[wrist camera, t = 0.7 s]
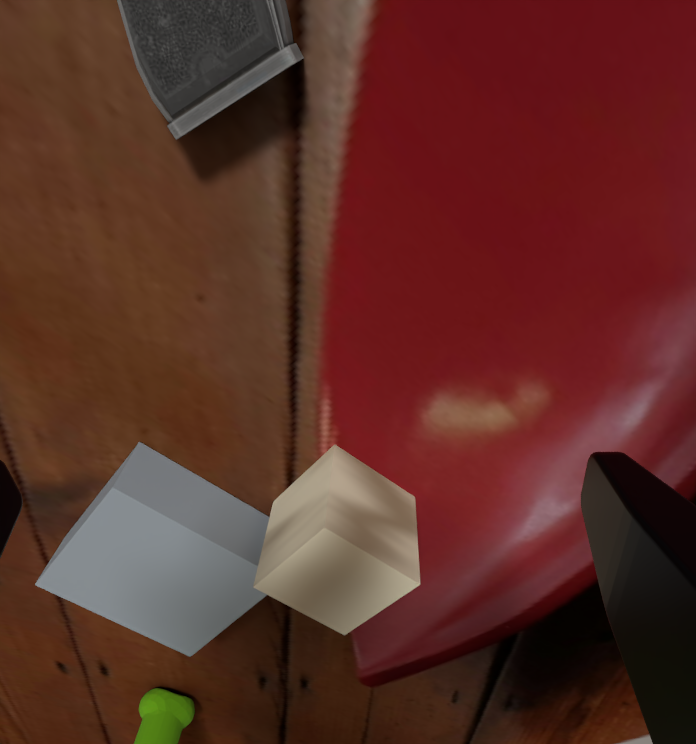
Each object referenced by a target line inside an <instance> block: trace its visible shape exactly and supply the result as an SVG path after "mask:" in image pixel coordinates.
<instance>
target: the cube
mask: <svg viewBox="0 0 696 744" xmlns="http://www.w3.org/2000/svg"><path fill="white" fill-rule="evenodd" d="M419 585H420V569H419V553H418V537H417V521H416V504H415V497H414V496H412V495H411V494H409V493H408V492H406V491H405V490H403V489H402V488H400V487H399V486H397V485H396V484H394V483H393V482H391V481H390V480H388V479H387V478H385V477H383V476H382V475H380V474H379V473H377V472H376V471H374V470H373V469H371V468H370V467H368V466H367V465H365V464H364V463H362V462H361V461H359V460H358V459H356V458H355V457H353V456H352V455H350V454H349V453H347V452H346V451H344V450H342V449H341V448H339V447H338V446H336V445H334V446H332V447H331V448H330V449H329V450H328V451H327V452H326V453H325V454H324V455H323V456H322V457H321V458H320V459H319V460H317V461H316V462H315V463H314V464H313V465H312V466H311V467H310V468H309V469H308V470H307V471H306V472H305V473H304V474H302V475H301V476H300V477H299V478H298V479H297V480H296V481H295V482H294V483H293V484H292V485H291V486H290V487H289V488H287V489H286V490H285V491H284V492H283V493H282V494H281V495H280V496H279V497H278V498H277V499H276V500H275V501H274V502H273V505H272V509H271V514H270V518H269V522H268V526H267V530H266V535H265V539H264V543H263V547H262V552H261V556H260V560H259V564H258V568H257V573H256V577H255V581H254V585H253V587H254V588H255V589H257V590H259V591H261V592H263V593H265V594H267V595H269V596H271V597H273V598H274V599H276V600H278V601H280V602H282V603H284V604H286V605H288V606H290V607H292V608H293V609H295V610H297V611H299V612H301V613H303V614H305V615H307V616H309V617H311V618H312V619H314V620H316V621H318V622H320V623H322V624H324V625H326V626H328V627H330V628H331V629H333V630H335V631H337V632H339V633H341V634H343V635H346V634H347V633H349V632H350V631H352V630H353V629H355V628H356V627H358V626H359V625H361V624H362V623H364V622H365V621H367V620H368V619H370V618H371V617H373V616H374V615H376V614H377V613H379V612H380V611H382V610H383V609H385V608H386V607H388V606H389V605H391V604H392V603H394V602H395V601H397V600H398V599H400V598H401V597H403V596H404V595H406V594H407V593H409V592H410V591H412V590H413V589H415V588H416V587H418V586H419Z"/></svg>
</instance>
